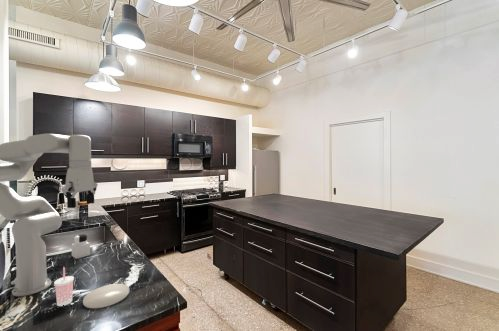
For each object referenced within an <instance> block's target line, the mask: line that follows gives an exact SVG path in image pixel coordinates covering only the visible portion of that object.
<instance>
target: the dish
mask: <svg viewBox="0 0 499 331" xmlns="http://www.w3.org/2000/svg"><path fill="white" fill-rule="evenodd" d="M129 294H130V287H129V286H128V285H127V284H125V283H113V284H108V285H107V284H106V285H103V286H99V287H97V288H95V289H93V290H91V291H90V292H88V293H87V294H86V295H85V296H84V297H83V300H82V304H83V306H84V307H85V308H88V309H102V308H106V307H109V306H113V305H115V304H117V303H119V302H121V301H123V300H125V299H126V297H127V296H128V295H129Z"/></svg>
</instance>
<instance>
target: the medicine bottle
mask: <svg viewBox="0 0 499 331" xmlns="http://www.w3.org/2000/svg"><path fill="white" fill-rule="evenodd" d="M73 240H74V242H73V243H71V256H72V257H73V258H74V259H76V260H77V259H81V258H84V257H87V256H91V243H90V242H88V235H87V234H85V233H84V234H83V233H82V234H81V233H80V234H77V235H75V236H74V239H73Z"/></svg>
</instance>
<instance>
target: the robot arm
mask: <svg viewBox="0 0 499 331" xmlns="http://www.w3.org/2000/svg"><path fill="white" fill-rule="evenodd" d="M45 153H49V154H50V153H57V154H59V153H61V154H68V166H69V167H68V168H67V171H66V175H65V185H64V186H62V187H61V191H62V194H63V195H64V196H65V199H66V204H67V206H66V207H67V209H75V208H77V198H76V197H75V196H76V195H77V194H78V193H84V192H85V193H87V194H86V196H85V198H86V204H92V205H93V204H95V194H96V191H97V188H98V182H96V181H95V180H94V173H93V172H94V171H93V168H92V140H91V137H90V136H88V135H84V134H72V135H64V134H59V133H58V134H57V133H40V134H34V135H33V134H32V135H30V136H28V137H27V138H25V139H22V140H20V139H19V140H14V141H10V142H9V141H8V142H3V143H0V161H3V162H0V215H1V216H2V217H3V218H4V219H5V220H8V221H15V222H13V225H12V226H11V232H12V236H13V240H14V244H15V256H16V258H15V261H16V267H15V268H16V277H15V278H14V280H12V281H11V282H10V284H11V285H14V288H13V289H12V290H11V295H12V296H14V297H25V296H30V295H34V294H37V293H39V292H41V291H44V290H46V289H48V288H49V287H50V286H51V285H52V280H51V279H50V278H47V277H48V274H47V272H48V271H47V245H46V242H45V241H44V240H43V239H42V236H43V235H47V234H49V233H53V232H55V231H57V230H59V228H60V227H61V226H62V223H63V218H62V216H61V215H60V213H59V212H58V211H57V210H56V209H55V208H54V207H53V206H52V205H51V204H50V203H49V201H47V200H46V199H45V198H44V197H42V196H40V195H28V196H27V195H26V196H21V195H19V194H18V193H17V192H16V191H15V190H14V189H13V187H10V186H8V185H6V184H4V182H14V181H15V182H16V181H20V180H22V179H23V178H24V177H26V175H27V174H28V173H29V171H30V170H31V169H32V167H33V166H34V165H35V163H36V162H37V160H38V158H40V157H41V156H42V155H43V154H45ZM2 182H3V183H2ZM60 229H61V228H60Z"/></svg>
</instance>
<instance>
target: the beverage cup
mask: <svg viewBox="0 0 499 331" xmlns="http://www.w3.org/2000/svg"><path fill="white" fill-rule="evenodd" d="M62 270H63V276H62V277H59V278H58V279H56V280H55V281H54V282H53V284H54V286H55V287H54V288H55V297H56V306H57V307H64V306H67V305H69V304H71V303H72V302H73V292H74V281H75V277H74V276H72V275H67V276H66V268H65V266H63V268H62ZM63 305H64V306H63Z"/></svg>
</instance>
